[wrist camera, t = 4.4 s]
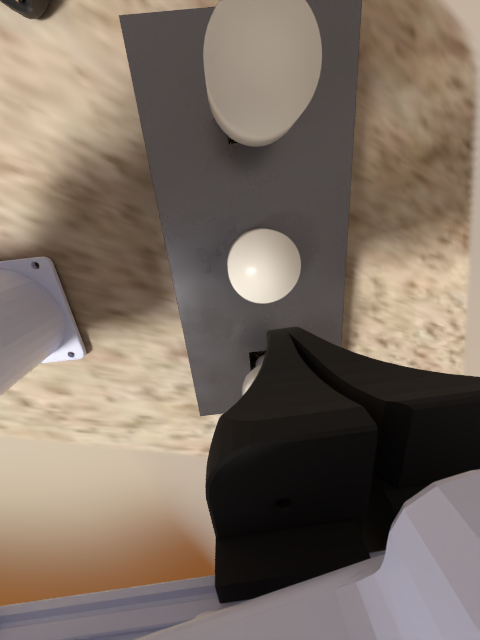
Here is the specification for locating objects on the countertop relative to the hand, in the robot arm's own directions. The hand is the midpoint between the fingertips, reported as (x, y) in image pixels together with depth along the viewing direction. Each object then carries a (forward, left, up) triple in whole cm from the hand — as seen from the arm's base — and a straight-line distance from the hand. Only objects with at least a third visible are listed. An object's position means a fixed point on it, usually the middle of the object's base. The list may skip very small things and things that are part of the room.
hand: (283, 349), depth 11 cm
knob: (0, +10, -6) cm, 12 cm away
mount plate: (0, +3, -9) cm, 10 cm away
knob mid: (0, +3, -9) cm, 10 cm away
